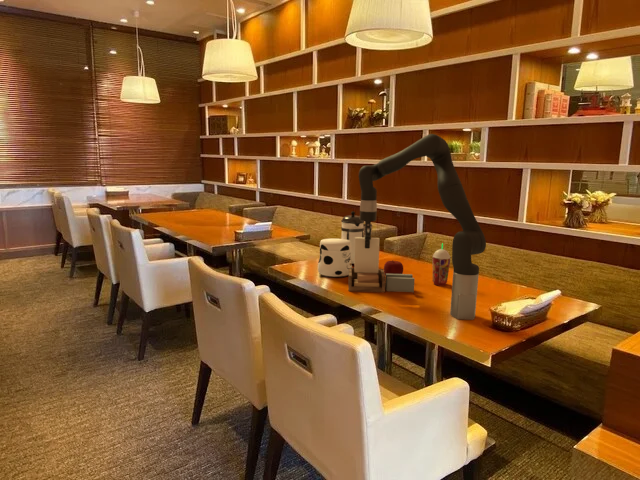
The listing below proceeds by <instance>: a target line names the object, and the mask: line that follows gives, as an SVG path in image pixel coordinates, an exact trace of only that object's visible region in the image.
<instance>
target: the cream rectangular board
mask: <svg viewBox="0 0 640 480" xmlns="http://www.w3.org/2000/svg"><path fill="white" fill-rule="evenodd" d="M380 240H381V239H380V237H371V240H370V248H365V238H364V236H363V237H355V264H354V267H353V268H354V272H360V273H378V269H380V268H379V266H380V265H379V263H380Z"/></svg>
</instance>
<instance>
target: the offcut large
mask: <svg viewBox="0 0 640 480" xmlns="http://www.w3.org/2000/svg"><path fill="white" fill-rule="evenodd" d="M354 286H361V287H379V281H378V283H358V281H357V279H354Z"/></svg>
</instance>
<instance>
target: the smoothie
mask: <svg viewBox="0 0 640 480" xmlns="http://www.w3.org/2000/svg"><path fill="white" fill-rule="evenodd" d="M451 259H452V256H450V253H449V251H448V250H446V249H444V243H443V242H442V243H441V247H440V248H439V249H437V250H435V252H434V253H433V254H432V282H433V284H434V285H435V286H439V287H440V286H441V287H442V286H443V287H444V286H446V285H447V283H448V280H449V272H450V271H449V270H450V263H451Z"/></svg>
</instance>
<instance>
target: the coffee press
mask: <svg viewBox="0 0 640 480" xmlns="http://www.w3.org/2000/svg"><path fill="white" fill-rule="evenodd" d="M363 224H365V221H361V220H360V215H356V212H355V211H351V212H350V214H349V215H345V216H343V217H342V219H341V227H340V228H341V229H340V230H341V239H346V240H349V241H350V242H351V248H350V249H351V254H350V259H351V263H352V264H355V237H363V238H364V228H363Z"/></svg>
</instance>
